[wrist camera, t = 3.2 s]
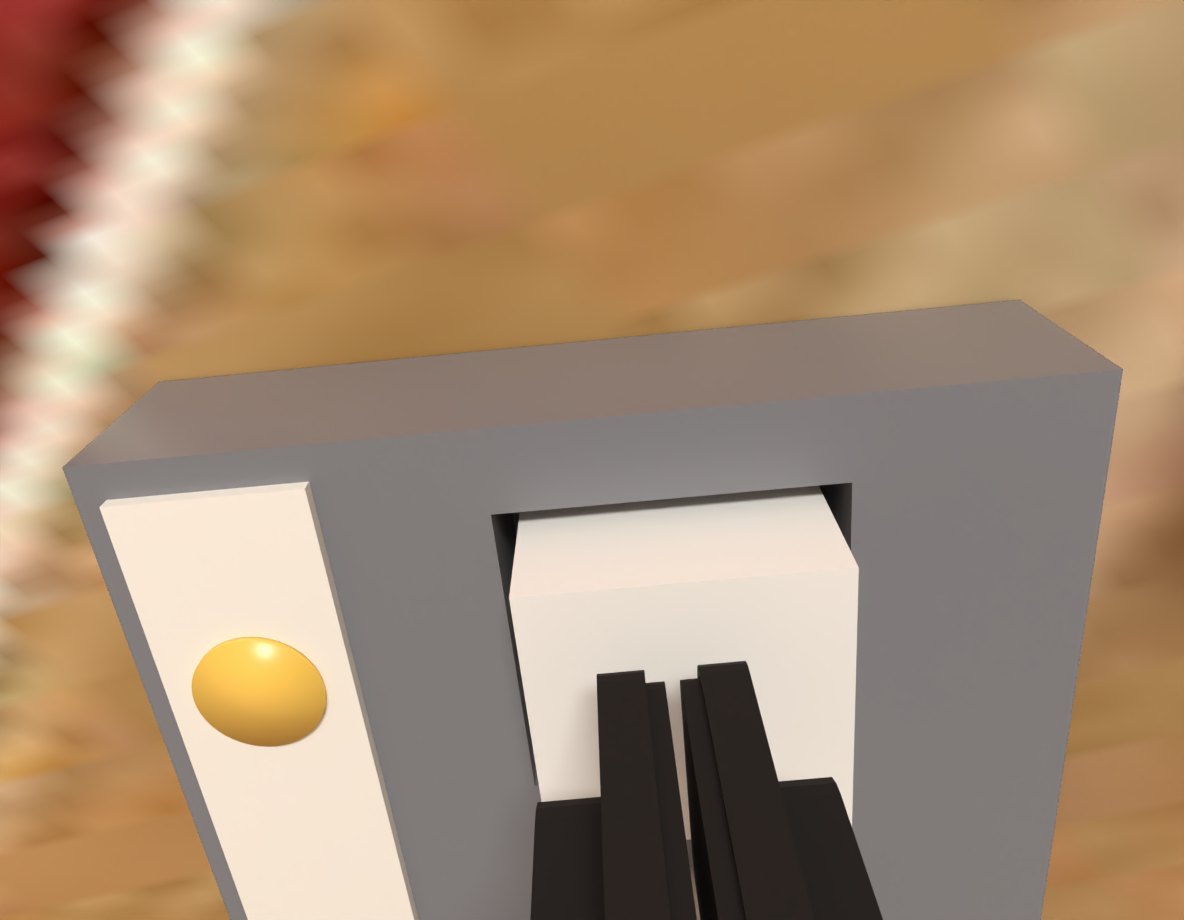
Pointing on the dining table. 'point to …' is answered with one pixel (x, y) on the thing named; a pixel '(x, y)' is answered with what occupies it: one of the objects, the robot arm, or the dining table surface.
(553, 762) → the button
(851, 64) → the dining table surface
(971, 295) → the dining table surface
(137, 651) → the switch panel
